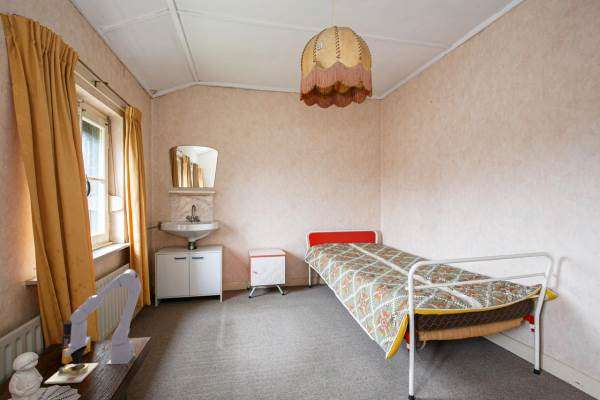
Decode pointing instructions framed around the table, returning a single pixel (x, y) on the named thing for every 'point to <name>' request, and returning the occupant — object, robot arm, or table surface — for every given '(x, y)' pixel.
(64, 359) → the pipe clamp
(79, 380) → the board
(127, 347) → the robot arm
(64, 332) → the deodorant
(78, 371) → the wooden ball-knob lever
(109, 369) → the table surface
